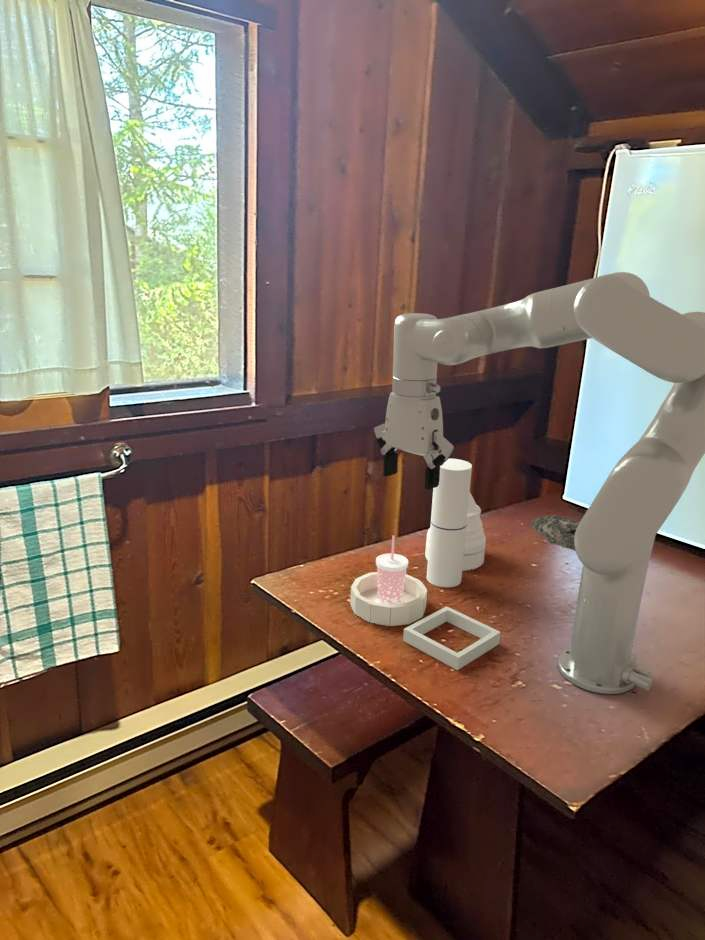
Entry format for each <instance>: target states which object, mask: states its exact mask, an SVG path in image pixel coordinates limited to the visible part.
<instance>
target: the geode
mask: <svg viewBox="0 0 705 940" xmlns="http://www.w3.org/2000/svg"><path fill="white" fill-rule="evenodd" d="M579 523H580V522H576V521H575V520H572V519H570V518H568V517H566V516H565V517H563V516H562V517H561V516H559V515H555V514H553V515H552V514H551V515H542V516H538V517H537V518H534V519H532V520H531V521H530V523H529V524H530V527H531V528H532V529H533V530H534V531H535V532H536V533H538V534H540V535H542V536H544V537H545V538H546V539H547V541H548V542H549V543H550V544H552V545H555V546H559V547H562V548H565V549H568V550H572V551H575V546H574V536H575V532H576V529H577V527H578V525H579ZM575 552H576V551H575Z"/></svg>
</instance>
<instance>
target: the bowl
mask: <svg viewBox="0 0 705 940" xmlns="http://www.w3.org/2000/svg"><path fill="white" fill-rule="evenodd" d="M427 597H428V589H427V588H426V586H425V584H424V582H422V581H421V580H420V579H418V578H416V577H413V576H411V575H409V574H407V573H406V576H405V583H404V591H403V598H402V604H394V605H389V604H383V603H378V586H377V571H375V572H374V571H373V572H372V571H371V572H368V573H366V574H363V575H360V576H359V577H356V578H355V580H354V581H353V583H352V584H351V586H350V599H349V600H350V604H349V605H351V606H350V607H352V608H351V609H352V611H353V613H354V615H355V614H356V615H357V617H358V616H359V618H360V617H361V618H360V619H362V620H364V621H366V622H368V623H369V622H370V624H374V623H375V624H376V625H381V626H387V627H394V626H395V627H397V626H403V625H411V624H412V623H413V622H414V623H415V622H417V621H419V620H421V619H423V617H424V614H425V611H426V608H427V601H428V600H427V599H428V598H427ZM356 615H355V616H356Z"/></svg>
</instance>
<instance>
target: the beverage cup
mask: <svg viewBox="0 0 705 940" xmlns="http://www.w3.org/2000/svg"><path fill="white" fill-rule="evenodd" d="M391 536H392V537H391V538H392V539H391V552H390V553H389V552H388V553H383V554H380V555H377V556H376V558H375V566H376V570H377V571H376V572H377V586H378V603H383V604H389V605H394V604H402V598H403V591H404V583H405V576H406V574H407V568H408V567H409V559H408V558H407V557H406V556H404V555H402V554H397V553H395V541H396V540H395V538H396V537H395V536H396V535H395V534H394V535H391Z"/></svg>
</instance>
